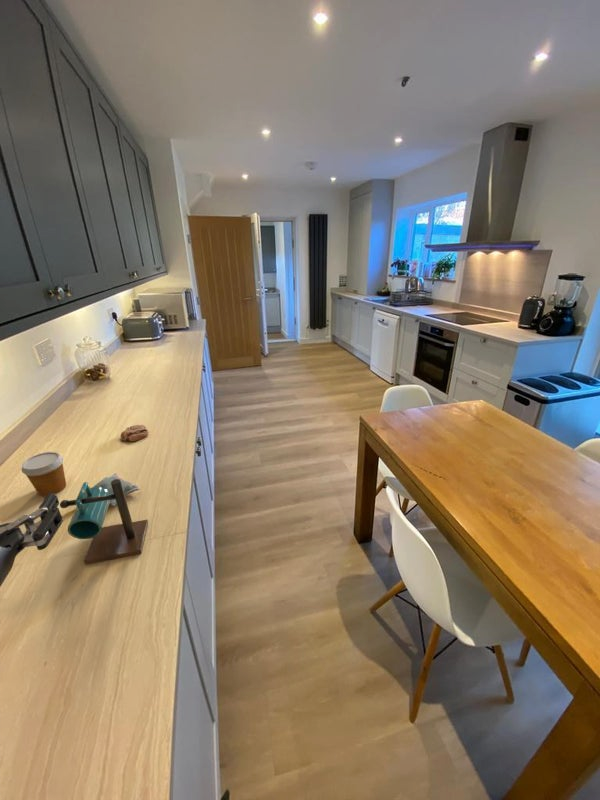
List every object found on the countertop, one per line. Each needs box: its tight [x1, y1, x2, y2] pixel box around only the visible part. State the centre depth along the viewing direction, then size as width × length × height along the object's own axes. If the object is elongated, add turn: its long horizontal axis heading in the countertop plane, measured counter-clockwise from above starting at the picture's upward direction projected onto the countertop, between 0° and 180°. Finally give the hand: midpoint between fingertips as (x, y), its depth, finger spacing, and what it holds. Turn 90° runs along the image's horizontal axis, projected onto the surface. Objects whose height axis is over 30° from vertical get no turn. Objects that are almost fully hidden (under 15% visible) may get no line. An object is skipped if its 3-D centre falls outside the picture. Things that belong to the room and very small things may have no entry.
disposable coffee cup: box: [21, 451, 67, 498], centre depth 93 cm, size 10×10×12 cm
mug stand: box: [59, 479, 149, 565], centre depth 76 cm, size 15×10×18 cm, turn 105°
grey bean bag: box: [93, 473, 141, 507], centre depth 94 cm, size 9×12×5 cm
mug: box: [67, 481, 111, 540], centre depth 76 cm, size 11×7×10 cm
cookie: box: [120, 424, 149, 442], centre depth 126 cm, size 10×11×3 cm
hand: (23, 501), depth 53 cm, fingers open, 8 cm apart
